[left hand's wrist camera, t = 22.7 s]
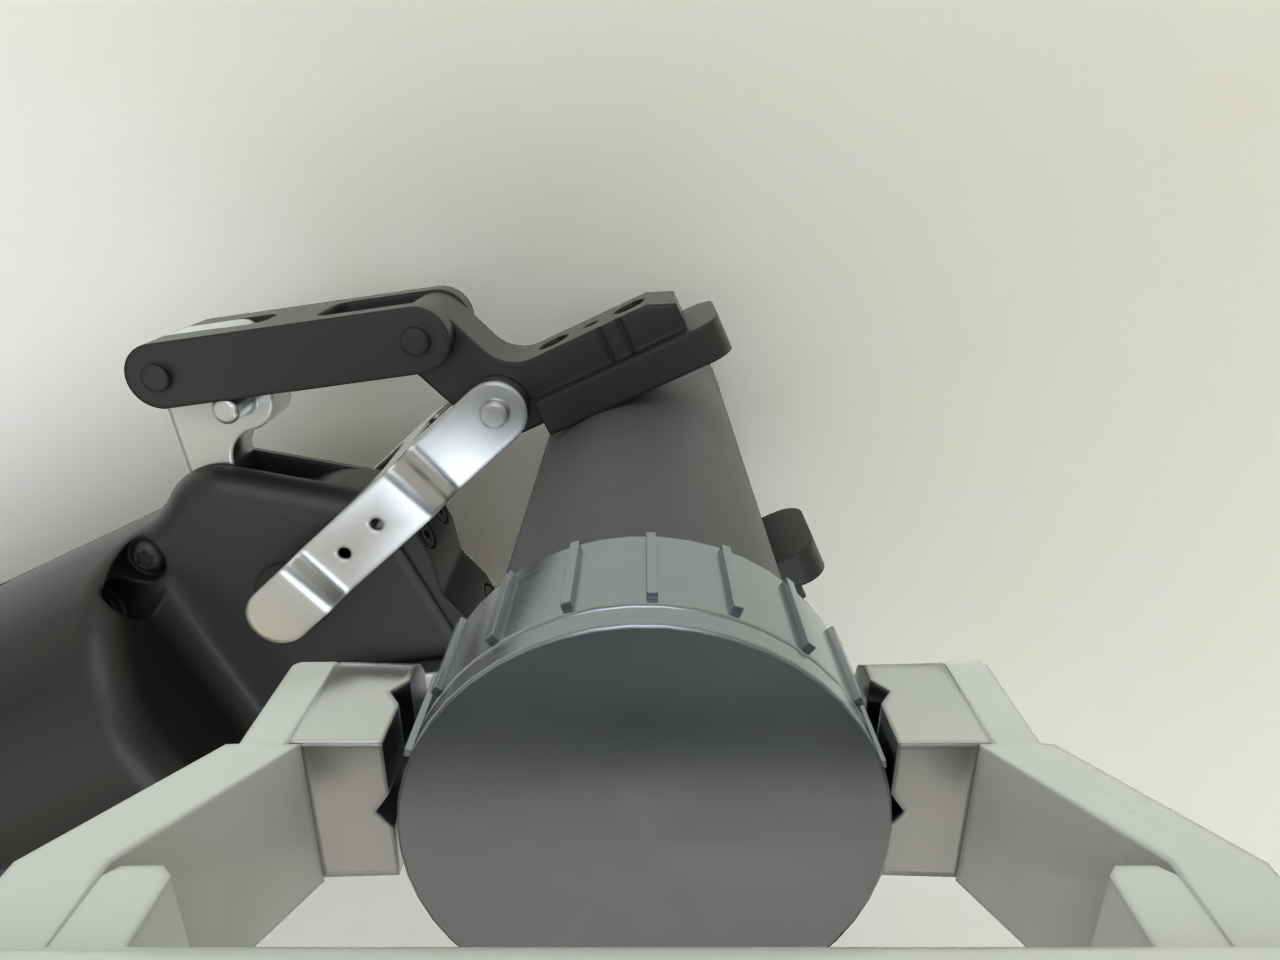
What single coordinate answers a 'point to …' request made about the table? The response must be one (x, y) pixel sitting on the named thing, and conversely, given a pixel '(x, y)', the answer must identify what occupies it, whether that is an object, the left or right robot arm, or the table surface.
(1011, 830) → the left robot arm
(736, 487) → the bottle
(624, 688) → the lid
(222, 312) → the table surface
